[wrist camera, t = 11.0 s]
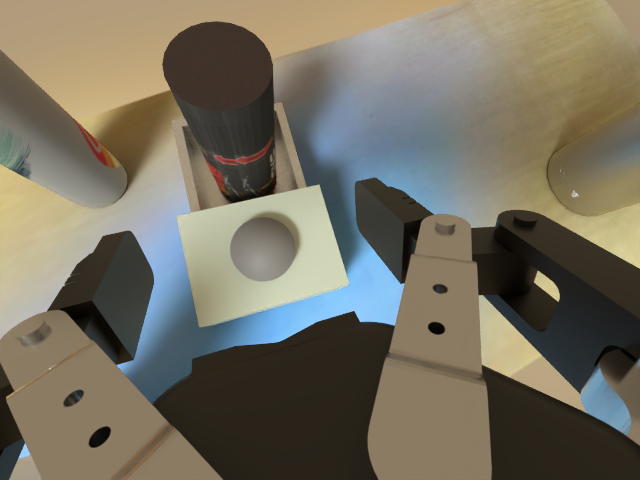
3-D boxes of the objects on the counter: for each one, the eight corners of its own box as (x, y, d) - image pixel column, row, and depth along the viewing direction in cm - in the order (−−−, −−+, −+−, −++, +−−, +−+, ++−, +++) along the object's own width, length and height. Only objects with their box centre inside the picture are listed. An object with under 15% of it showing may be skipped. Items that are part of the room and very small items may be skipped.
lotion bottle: (107, 146, 32) (-166, -118, 12) (141, 187, 31) (-91, -22, 12) (54, 177, 30) (-349, -64, 11) (88, 221, 30) (-273, 48, 10)
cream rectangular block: (312, 207, 33) (320, 179, 26) (336, 289, 31) (352, 283, 24) (196, 234, 31) (172, 211, 24) (215, 324, 29) (195, 328, 22)
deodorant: (278, 204, 31) (277, 109, 17) (218, 208, 31) (162, 112, 16) (274, 151, 33) (268, 22, 18) (216, 154, 32) (162, 20, 17)
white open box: (281, 124, 35) (281, 102, 31) (306, 208, 33) (309, 195, 29) (183, 142, 33) (171, 120, 29) (203, 232, 31) (193, 221, 27)
